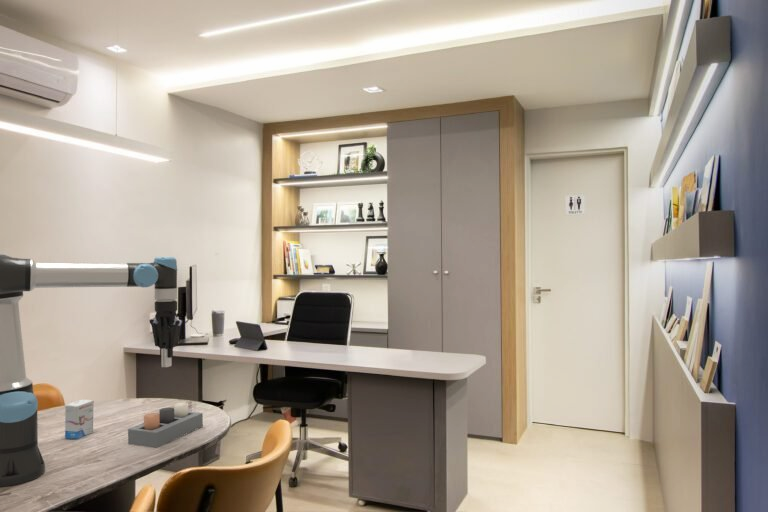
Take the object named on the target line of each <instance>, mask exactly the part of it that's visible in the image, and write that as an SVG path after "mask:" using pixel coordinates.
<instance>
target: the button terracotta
mask: <svg viewBox="0 0 768 512" xmlns="http://www.w3.org/2000/svg"><path fill="white" fill-rule="evenodd" d="M143 423H144V429H145V430H155V429H157V428H160V418H159V413H157V412H156V413H155V412H153V413H147V414H144V416H143Z"/></svg>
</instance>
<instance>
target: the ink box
mask: <svg viewBox="0 0 768 512" xmlns="http://www.w3.org/2000/svg"><path fill="white" fill-rule="evenodd" d="M94 402H95V401H94V400H92V399H79V400H76V401H73V402H70V403H67V404H66V405H65V409H64V410H65V413H64V415H65V418H64V419H65V421H64V424H65V427H64V432H65V433H64V438H65V439H72V440H78V439H80V438H82V437H85V436H87V435H89V434H91V433H92V434H93V433H94V406H95V405H94Z"/></svg>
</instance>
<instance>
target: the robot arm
mask: <svg viewBox="0 0 768 512" xmlns="http://www.w3.org/2000/svg"><path fill="white" fill-rule="evenodd" d="M177 280H178V264H177V258H175V257H173V256H163V257H162V256H160V257H157V256H155V257H154V261H153V262H126V263H120V262H119V263H118V262H117V263H116V262H115V263H114V262H113V263H112V262H111V263H110V262H109V263H107V262H103V263H101V262H100V263H99V262H37V261H35V260H33V258H19V257H12V256H9V255H5V254H0V487H7V486H15V485H19V484H23V483H27V482H30V481H33V480H35V479H38V478H39V477H41V476H43V474H44V473H45V471H46V468H45V467H46V466H45V465H46V463H45V461H44V458H43V455H42V453H41V451H40V449H39V441H38V439H39V438H38V435H39V433H38V408H39V403H38V399H37V398H38V397H37V396H36V394H34V387H33V380H31V379H30V378H28V377H27V373H26V366H25V365H26V363H25V354H24V343H23V333H22V325H21V315H20V306H19V302H20V300H22V298H24V292H32V291H33V290H34V289H38V288H39V289H40V288H42V289H43V288H53V289H54V288H120V287H122V288H125V287H127V288H129V287H130V288H132V287H133V288H134V287H136V288H137V287H138V288H150V287H152V286H153V285H154V300H155V301H154V312H155V316H154V318H151V319H149V324H150V326H151V330H152V336H153V337H152V338H153V341H154V346H155V347H159V356H160V358H161V368H169V367H172V364H173V363H172V361H173V360H172V359H173V356H174V355H173V354H174V353H173V352H174V348H176V347H178V345H179V340H180V334H181V327H182V325H183V323H184V320H183V319H179V318H178V315H177V311H178V301H177V299H178V281H177Z"/></svg>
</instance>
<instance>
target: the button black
mask: <svg viewBox="0 0 768 512" xmlns="http://www.w3.org/2000/svg"><path fill="white" fill-rule="evenodd" d="M158 412H159V413H158V414H159V418H160V423H164V424H169V423H172V422H174V407H164V408H160V409H159V411H158Z"/></svg>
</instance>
